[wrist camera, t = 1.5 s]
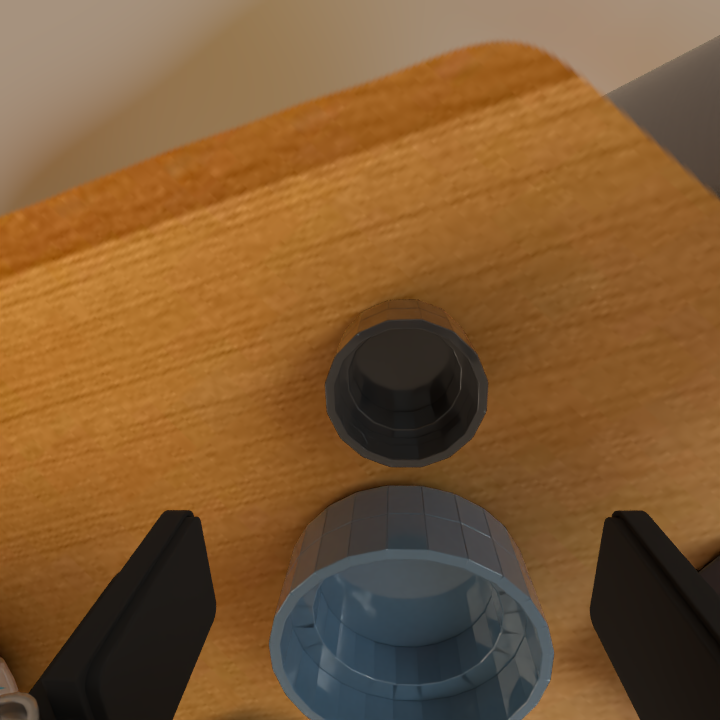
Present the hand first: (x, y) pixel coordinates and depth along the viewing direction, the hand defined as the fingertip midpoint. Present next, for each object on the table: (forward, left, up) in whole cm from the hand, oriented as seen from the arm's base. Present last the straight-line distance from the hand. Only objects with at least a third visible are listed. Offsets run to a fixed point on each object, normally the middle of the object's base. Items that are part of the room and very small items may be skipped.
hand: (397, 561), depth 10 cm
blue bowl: (+10, +10, -13) cm, 19 cm away
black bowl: (0, 0, -13) cm, 13 cm away
